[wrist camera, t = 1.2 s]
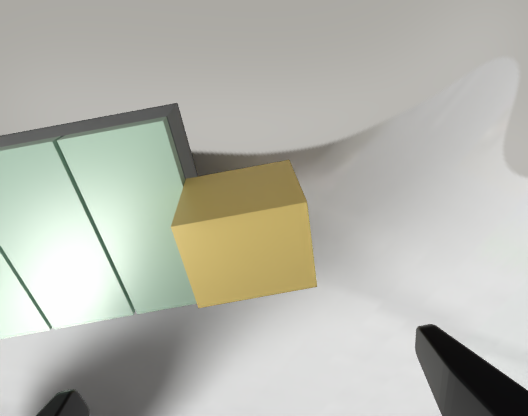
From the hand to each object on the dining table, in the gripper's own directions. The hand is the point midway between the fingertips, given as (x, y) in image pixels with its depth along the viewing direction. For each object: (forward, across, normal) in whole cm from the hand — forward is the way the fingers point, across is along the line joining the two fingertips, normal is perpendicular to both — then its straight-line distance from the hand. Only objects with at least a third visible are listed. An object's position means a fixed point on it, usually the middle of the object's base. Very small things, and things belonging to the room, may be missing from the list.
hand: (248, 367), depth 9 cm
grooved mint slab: (+9, +7, 0) cm, 12 cm away
